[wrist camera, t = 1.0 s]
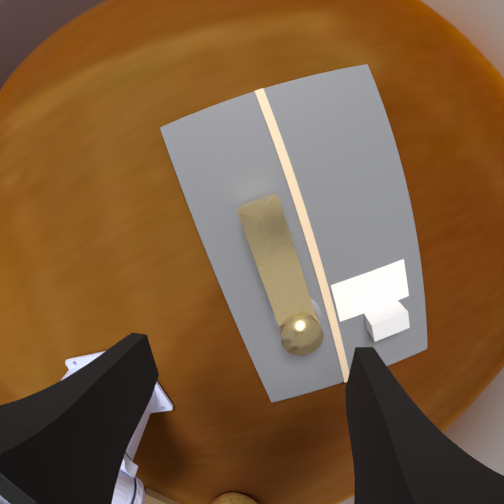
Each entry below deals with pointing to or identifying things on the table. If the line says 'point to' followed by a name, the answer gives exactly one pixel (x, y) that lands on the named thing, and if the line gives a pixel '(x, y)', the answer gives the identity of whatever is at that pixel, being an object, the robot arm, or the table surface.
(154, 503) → the box
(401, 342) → the lock board
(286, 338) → the bar
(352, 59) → the table surface
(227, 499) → the apple
